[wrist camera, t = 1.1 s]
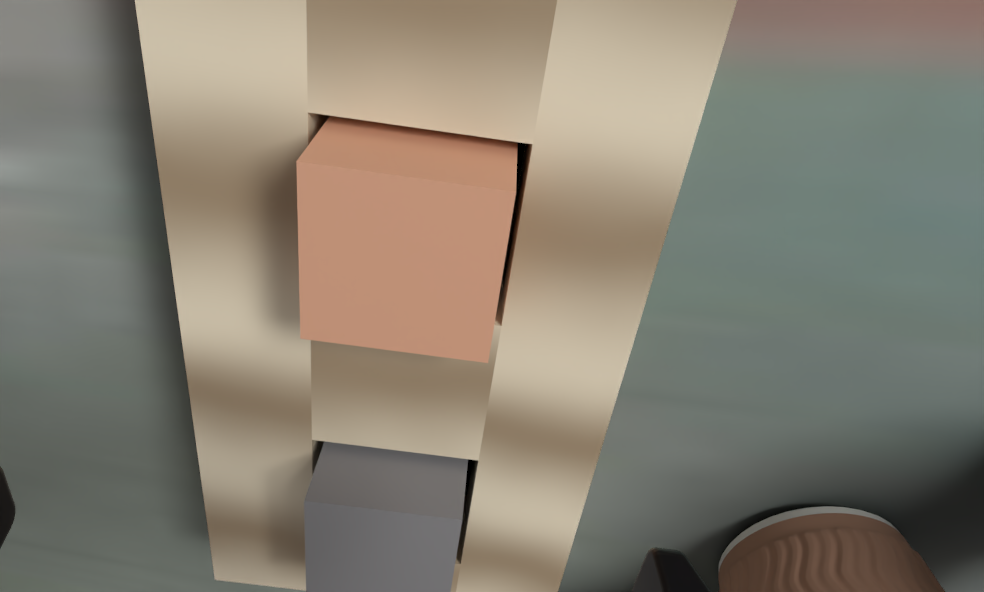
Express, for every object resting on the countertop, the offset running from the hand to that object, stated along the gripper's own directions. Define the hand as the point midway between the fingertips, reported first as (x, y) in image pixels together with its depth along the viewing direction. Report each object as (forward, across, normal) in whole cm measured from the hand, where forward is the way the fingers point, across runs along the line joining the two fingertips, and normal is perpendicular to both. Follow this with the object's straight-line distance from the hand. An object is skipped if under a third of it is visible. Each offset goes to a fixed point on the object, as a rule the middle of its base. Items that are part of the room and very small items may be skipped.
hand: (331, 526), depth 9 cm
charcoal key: (+11, 0, +10) cm, 15 cm away
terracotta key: (+11, 0, 0) cm, 11 cm away
